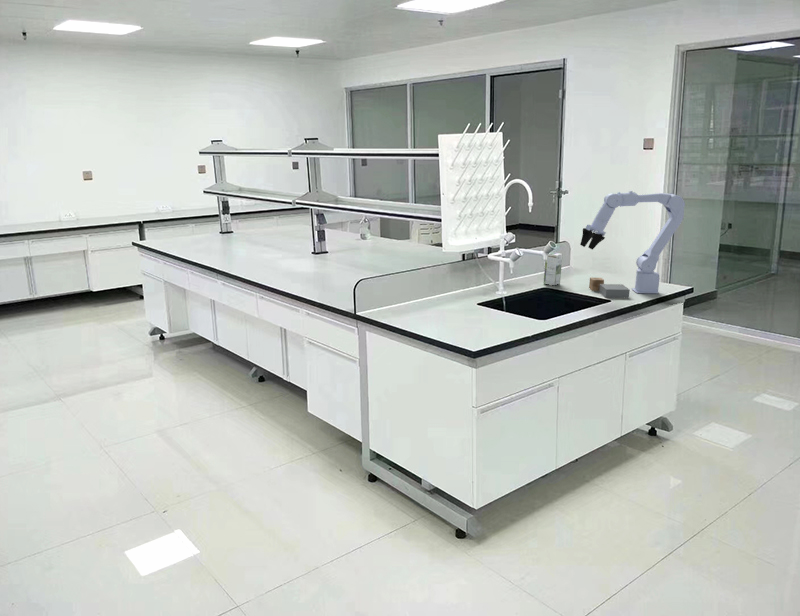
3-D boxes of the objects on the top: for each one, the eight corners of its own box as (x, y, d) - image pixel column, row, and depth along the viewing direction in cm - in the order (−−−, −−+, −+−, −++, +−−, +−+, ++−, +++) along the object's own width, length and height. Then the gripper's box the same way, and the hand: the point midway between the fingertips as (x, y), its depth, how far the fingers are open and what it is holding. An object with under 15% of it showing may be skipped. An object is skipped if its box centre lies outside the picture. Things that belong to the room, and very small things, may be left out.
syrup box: (548, 282, 302) (551, 251, 299) (560, 284, 299) (562, 253, 295) (543, 284, 298) (545, 253, 294) (554, 286, 294) (557, 255, 291)
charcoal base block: (621, 293, 284) (622, 284, 283) (628, 298, 275) (629, 289, 274) (598, 292, 284) (599, 284, 283) (605, 298, 275) (606, 289, 274)
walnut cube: (600, 288, 292) (601, 277, 290) (603, 291, 287) (604, 280, 285) (589, 288, 292) (589, 277, 290) (591, 290, 287) (592, 279, 286)
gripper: (602, 218, 287) (587, 245, 291) (586, 212, 277) (571, 240, 281) (614, 225, 283) (599, 252, 287) (599, 219, 272) (584, 247, 276)
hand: (586, 247), depth 283 cm, fingers open, 7 cm apart
